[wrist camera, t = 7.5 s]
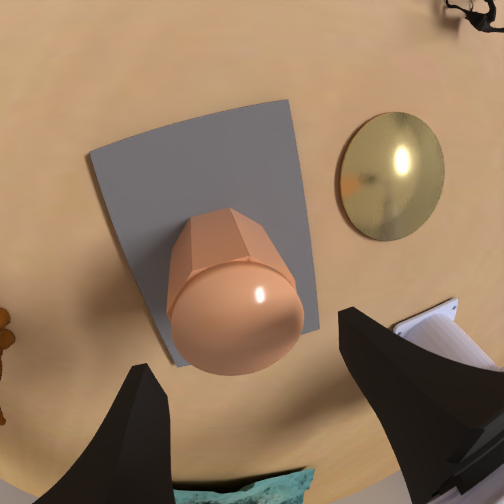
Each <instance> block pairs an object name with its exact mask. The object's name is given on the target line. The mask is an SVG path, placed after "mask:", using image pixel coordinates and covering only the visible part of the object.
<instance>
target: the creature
mask: <svg viewBox="0 0 504 504" xmlns="http://www.w3.org/2000/svg"><path fill="white" fill-rule="evenodd" d="M484 1H485V2H487V3H488V5H489V8H490V9H489V12H488V13H486V14H482V13H478V12H473V11H472V9H473V6H472V8H471V11H468V10H465V9H462V8H461V7H459V6H457V5H450V4H448V0H446V4H447V6H448V8H457V9H460V10H462V11H463V12H465V13H466V15H467V16H466V17H465V19H467V20H469V21H470V23H471V24H472V25H473V26H474V27H475V28H476V29H477V30H478V31H483V32H487V33H489V32H501V33H504V28H493V27H491V26H490V23H491V22H493V21H495V16H496V7H495V5H494V2H493V0H484ZM471 2H472V1H471ZM472 4H473V3H472Z"/></svg>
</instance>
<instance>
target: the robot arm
mask: <svg viewBox="0 0 504 504" xmlns="http://www.w3.org/2000/svg"><path fill="white" fill-rule="evenodd" d="M457 305H458V299H457V298H453V299H451V300H449V301H447V302H445V303H443V304H441V305H439V306H436V307H434V308H432V309H430V310H428V311H426V312H423V313H421V314H419V315H417V316H415V317H412V318H410V319H408V320H405V321H403V322H401V323H398V324H397V325H395V327H394V329H393V332H392V331H391V330H389V329H387V328H386V327H384V326H382V325H381V324H379V323H378V322H376V321H375V320H373V319H371V318H370V317H368V316H367V315H365V314H364V313H362V312H361V311H359V310H358V309H356V308H354V307H350V308H347V309H344V310H341V311H338V323H339V350H340V353H341V355H342V357H343V359H344V361H345V364H346V366H347V368H348V370H349V372H350V373H351V375H352V377H353V378H354V380H355V381H356V383H357V385H358V386H359V388H360V389H361V391H362V393H363V394H364V396H365V397H366V399H367V400H368V402H369V404H370V405H371V407H372V408H373V410H374V412H375V413H376V415H377V417H378V418H379V420H380V422H381V424H382V426H383V428H384V431H385V433H386V435H387V437H388V439H389V442H390V444H391V446H392V449H393V451H394V453H395V456H396V458H397V461H398V463H399V466H400V468H401V471H402V473H403V476H404V479H405V482H406V485H407V488H408V491H409V494H410V497H411V501H412V504H504V366H503V367H502V368H500V367H497V365H496V364H495V363H494V362H493V361H492V360H491V359H490V358H489V357H488V356H487V355H486V354H485V353H484V352H483V351H482V350H481V348H480V347H479V346H478V345H477V344H476V343H475V342H474V341H473V340H472V339H471V338H470V337H469V336H468V335H467V334H466V333H465V332H464V331H463V330H462V329H461V328H460V327H459V326H458V325H457V324H456V323H455V322H454V318H455V314H456V310H457ZM32 504H176V502H175V497H174V491H173V485H172V478H171V453H170V413H169V405H168V397H167V395H166V393H165V392H164V390H163V389H162V387H161V386H160V384H159V382H158V381H157V379H156V378H155V376H154V374H153V373H152V371H151V369H150V368H149V366H148V364H147V363H145V364H140V365H135V366H132V367H131V369H130V371H129V373H128V375H127V377H126V379H125V380H124V382H123V384H122V386H121V388H120V390H119V392H118V394H117V396H116V398H115V400H114V402H113V404H112V406H111V408H110V410H109V412H108V413H107V415H106V417H105V419H104V421H103V422H102V424H101V426H100V427H99V429H98V431H97V433H96V434H95V436H94V437H93V439H92V440H91V442H90V443H89V445H88V446H87V448H86V449H85V450H84V452H83V453H82V454H81V456H80V457H79V458H78V459H77V461H76V462H75V463H74V464H73V465H72V467H71V468H70V469H69V470H68V471H67V473H66V474H65V475H64V476H63V477H62V478H61V479H60V480H59V481H58V482H57V483H56V484H55V485H54V486H53V487H52V488H51V489H50V490H48V491H47V492H46V493H45V494H44V495H42V496H41V497H40V498H39V499H38V500H36V501H35V502H34V503H32Z"/></svg>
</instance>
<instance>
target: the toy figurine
mask: <svg viewBox="0 0 504 504" xmlns="http://www.w3.org/2000/svg"><path fill="white" fill-rule="evenodd" d="M9 323H10V315H9V313H8V312H7V311H6V310H5V309H3V308H0V380H1V376H2V361H1V356H2V353H3V350H5V349H7V348H9V347H10V346H11V345H12V344H13V343H14V342H15V337H14V334H13V333H12V332H11V331H10V330H8V329H4V328H5V326H6V325H7V324H9ZM5 423H6V419H5V418H4V417H3V413H2V411H1V408H0V425H4V424H5Z"/></svg>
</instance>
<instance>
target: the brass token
mask: <svg viewBox="0 0 504 504" xmlns="http://www.w3.org/2000/svg"><path fill="white" fill-rule="evenodd" d="M444 175H445V166H444V158H443V153H442V149H441V146H440V144H439V141H438V139H437V137H436V136H435V134H434V133H433V131H432V130H431V128H430V127H429V126H428V125H427V124H426V123H424V122H423V121H422V120H421V119H419V118H417V117H415V116H413V115H410V114H407V113H401V112H389V113H384V114H381V115H378V116H376V117H374V118H372V119H370V120H369V121H368V122H366V123H365V124H364V125H363V126H362V127H361V128H360V129H359V130H358V131H357V132H356V134H355V135H354V136H353V137H352V139H351V141H350V143H349V144H348V146H347V149H346V151H345V153H344V156H343V160H342V163H341V169H340V177H339V187H340V196H341V200H342V204H343V207H344V209H345V212H346V214H347V216H348V217H349V219H350V221H351V222H352V223H353V224H354V226H355V227H356V228H358V229H359V230H360V231H361V232H362V233H364V234H365V235H367V236H369V237H371V238H373V239H377V240H381V241H392V240H397V239H401V238H404V237H406V236H408V235H410V234H412V233H413V232H415V231H416V230H417V229H419V228H420V227H421V226H422V225H423V224H424V223H425V222H426V221H427V219H428V218H429V217H430V215H431V214H432V213H433V211H434V209H435V207H436V205H437V203H438V201H439V198H440V196H441V193H442V188H443V184H444Z"/></svg>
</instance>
